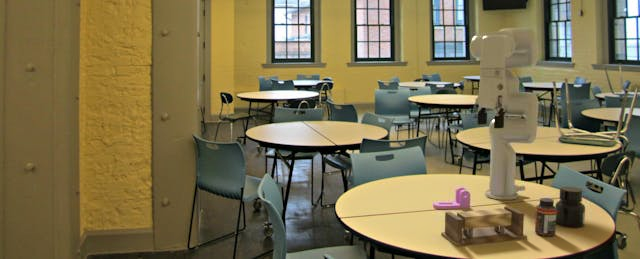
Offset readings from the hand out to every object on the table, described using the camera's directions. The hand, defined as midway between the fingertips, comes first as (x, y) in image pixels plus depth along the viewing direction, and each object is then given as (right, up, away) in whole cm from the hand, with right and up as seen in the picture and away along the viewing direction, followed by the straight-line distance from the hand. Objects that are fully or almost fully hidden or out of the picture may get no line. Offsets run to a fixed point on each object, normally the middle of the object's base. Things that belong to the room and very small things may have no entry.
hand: (490, 126), depth 168 cm
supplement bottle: (+15, -35, -6) cm, 38 cm away
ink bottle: (+28, -33, +3) cm, 43 cm away
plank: (-5, -31, -8) cm, 32 cm away
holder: (-5, -35, -8) cm, 36 cm away
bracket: (-7, -31, +24) cm, 40 cm away
